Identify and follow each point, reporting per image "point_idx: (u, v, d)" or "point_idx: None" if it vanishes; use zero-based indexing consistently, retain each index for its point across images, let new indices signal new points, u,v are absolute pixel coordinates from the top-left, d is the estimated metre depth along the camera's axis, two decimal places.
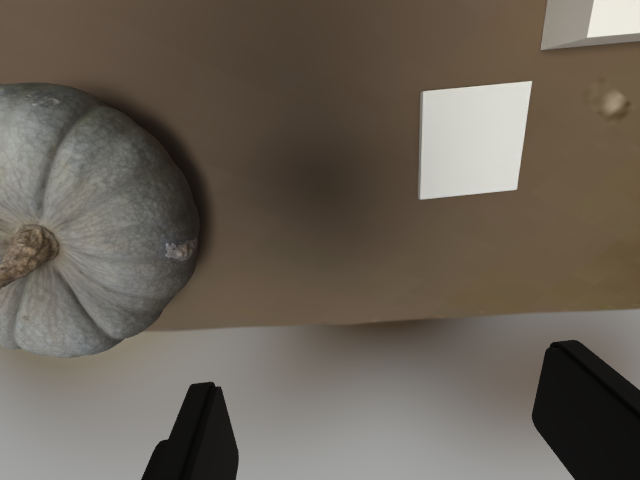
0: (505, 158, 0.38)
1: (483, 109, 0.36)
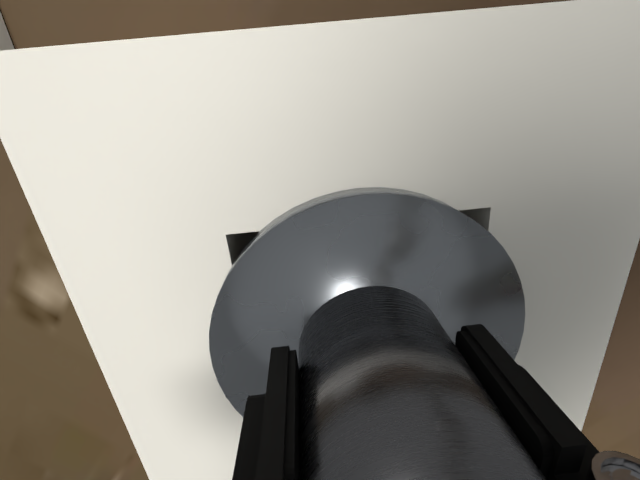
0: None
1: None
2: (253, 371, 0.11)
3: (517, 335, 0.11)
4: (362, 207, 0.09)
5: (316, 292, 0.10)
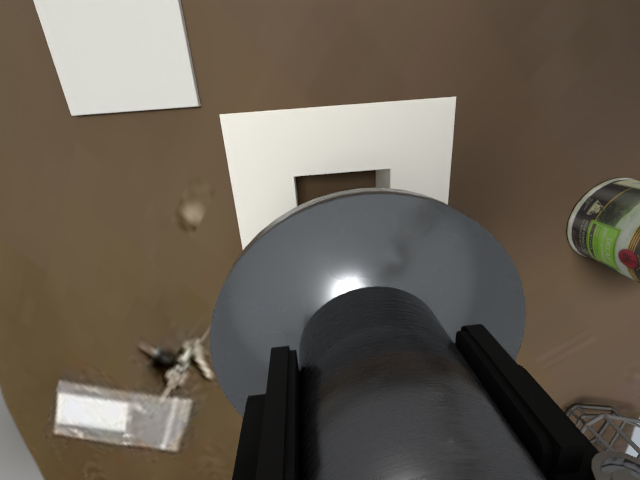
0: (107, 90, 0.30)
1: (159, 47, 0.29)
2: (254, 371, 0.11)
3: (517, 335, 0.11)
4: (363, 207, 0.09)
5: (317, 292, 0.10)
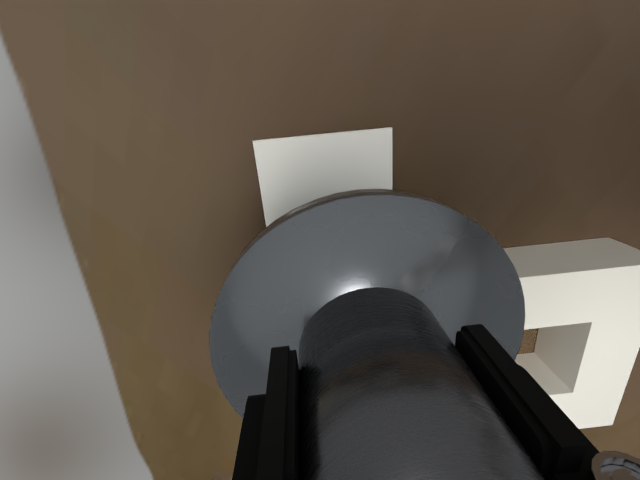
0: None
1: None
2: (253, 372, 0.11)
3: (517, 336, 0.11)
4: (362, 208, 0.09)
5: (316, 293, 0.10)
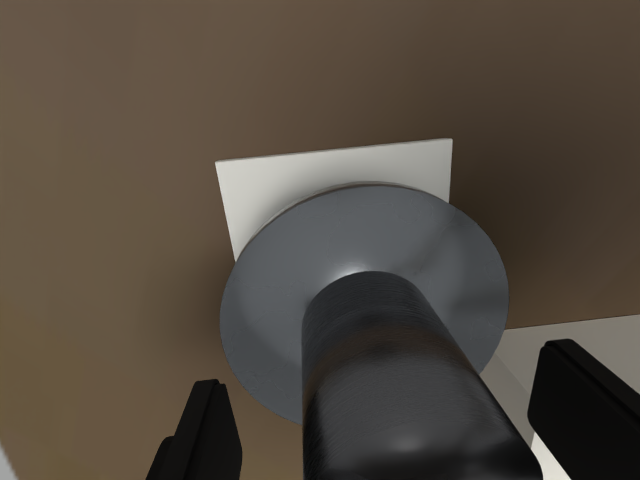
0: None
1: None
2: (259, 350, 0.12)
3: (502, 317, 0.12)
4: (359, 198, 0.10)
5: (318, 276, 0.11)
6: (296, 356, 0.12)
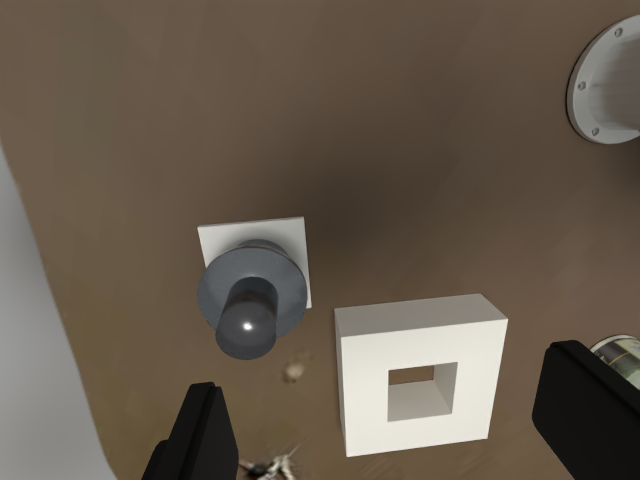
0: None
1: None
2: (212, 306, 0.32)
3: (305, 294, 0.33)
4: (245, 252, 0.31)
5: (233, 278, 0.31)
6: None
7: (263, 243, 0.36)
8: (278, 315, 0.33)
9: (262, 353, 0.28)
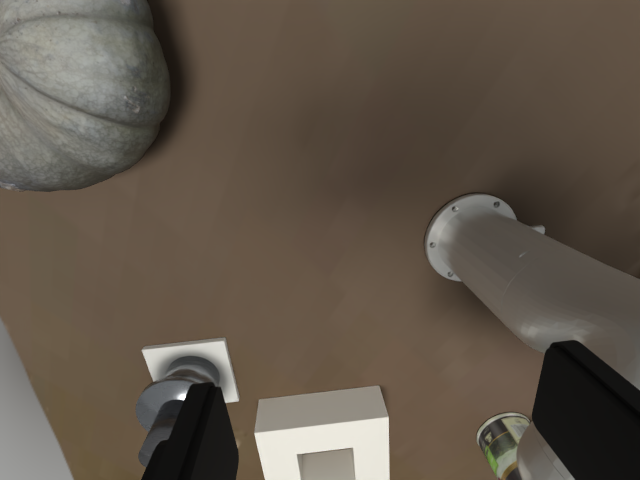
0: None
1: None
2: (148, 419, 0.43)
3: None
4: (168, 384, 0.41)
5: (161, 401, 0.42)
6: None
7: (192, 362, 0.47)
8: None
9: None
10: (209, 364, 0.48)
